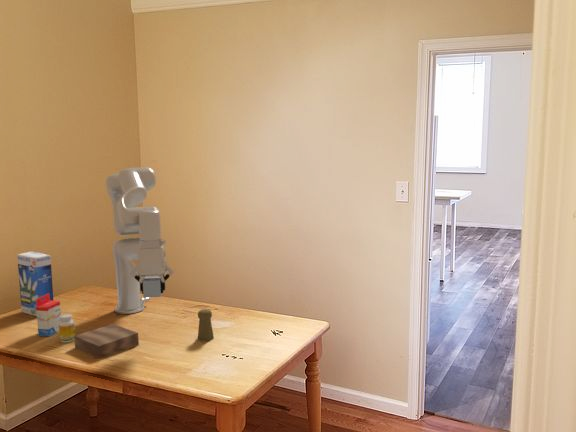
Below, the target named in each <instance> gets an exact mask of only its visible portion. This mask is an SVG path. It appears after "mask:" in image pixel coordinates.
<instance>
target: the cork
mask: <svg viewBox="0 0 576 432" xmlns="http://www.w3.org/2000/svg"><path fill="white" fill-rule="evenodd" d="M212 313H213V312H212V311H211V310H210V309H207V308H204V309H200V310H198V312H197V317H198V319H199V322H198V329H197V330H198V332H197V340H198V341H200V342H208V341H212V340H214V339H215V336H214V331H213V324H212V319H211V318H212V317H213V314H212Z"/></svg>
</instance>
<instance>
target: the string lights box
mask: <svg viewBox="0 0 576 432" xmlns="http://www.w3.org/2000/svg"><path fill="white" fill-rule="evenodd" d="M51 256H52V255H50V254H45V253H42V252H35V251H28V252H23V253H19V254H16V257H17V267H18V269H17V271H18V282H19V293H20V309H21V313H23V314H27V315H31V316H35V317H37V310H36V299H38V298H40V297H42V296H44V295H46V294H48V293H49V299H50V300H51V301H54V289H53V275H52V259H51ZM43 300H45V298H43V299H42V300H41V301H43Z"/></svg>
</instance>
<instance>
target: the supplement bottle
mask: <svg viewBox="0 0 576 432" xmlns="http://www.w3.org/2000/svg"><path fill="white" fill-rule="evenodd" d="M60 320H61V321H60V322H59V331H58V332H59V341H60V342H61V343H63V344H64V343H71V342H75V339H74V336H76V334H75V321H74V320H73V315H72V313H71V314H70V313H67V314H65V313H64V314H61V316H60Z"/></svg>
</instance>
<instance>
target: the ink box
mask: <svg viewBox="0 0 576 432" xmlns="http://www.w3.org/2000/svg"><path fill="white" fill-rule="evenodd" d="M43 298H45V300H43V301H41V300H42V299H43ZM36 310H37V316H36V320H37V321H36V322H37V323H36V324H37V333H38V336H39V337H51V336H53V335H54V334H56V333H57V332H59V322H60V321H61V320H60V316H61V315H62V314H61V313H62V311H61V301H60V300H53V301H51V300H50V299H49V293H48V294H46V295H44V296H42V297H40V298H38V299H36Z"/></svg>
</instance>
